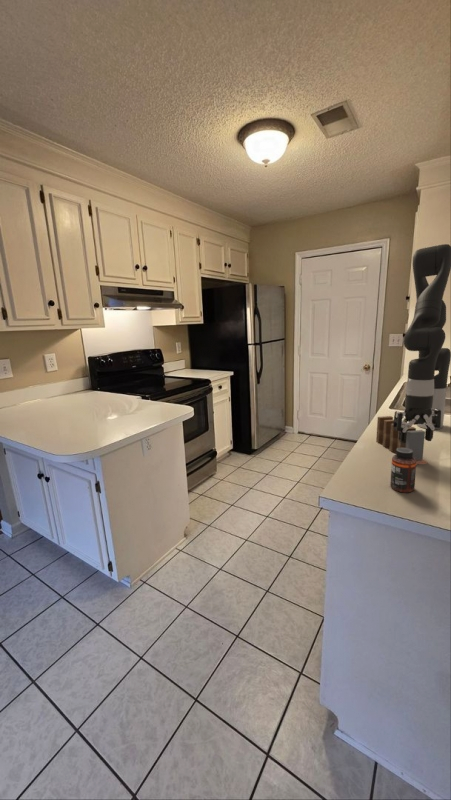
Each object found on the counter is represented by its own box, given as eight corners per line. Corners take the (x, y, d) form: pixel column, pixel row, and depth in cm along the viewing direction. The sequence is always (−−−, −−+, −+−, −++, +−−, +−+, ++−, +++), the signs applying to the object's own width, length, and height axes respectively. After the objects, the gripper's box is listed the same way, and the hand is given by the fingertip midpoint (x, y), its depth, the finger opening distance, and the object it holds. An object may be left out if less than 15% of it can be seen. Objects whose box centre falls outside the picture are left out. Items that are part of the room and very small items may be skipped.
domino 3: (389, 450, 117) (391, 423, 114) (402, 449, 117) (404, 422, 115) (391, 452, 115) (393, 425, 113) (405, 451, 115) (407, 424, 113)
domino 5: (422, 460, 106) (425, 431, 104) (407, 461, 106) (409, 432, 104) (419, 458, 108) (421, 430, 106) (404, 459, 108) (406, 431, 105)
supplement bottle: (413, 485, 92) (416, 447, 90) (415, 495, 87) (418, 455, 84) (389, 481, 95) (392, 444, 92) (390, 491, 89) (392, 452, 87)
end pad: (399, 458, 109) (399, 457, 109) (417, 457, 110) (417, 456, 110) (408, 465, 105) (408, 464, 105) (427, 463, 105) (427, 462, 105)
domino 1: (376, 441, 125) (377, 416, 123) (388, 440, 126) (390, 415, 123) (378, 443, 124) (379, 418, 122) (391, 442, 124) (392, 417, 122)
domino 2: (382, 446, 121) (384, 420, 119) (395, 445, 121) (397, 419, 119) (384, 447, 119) (386, 421, 117) (398, 446, 120) (400, 420, 117)
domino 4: (396, 455, 112) (398, 427, 110) (410, 454, 112) (412, 426, 110) (399, 457, 111) (401, 429, 108) (413, 456, 111) (415, 428, 109)
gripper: (433, 388, 106) (428, 436, 110) (390, 391, 105) (387, 439, 109) (450, 393, 99) (444, 444, 102) (404, 396, 98) (400, 447, 102)
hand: (415, 441), depth 106 cm, fingers open, 8 cm apart
